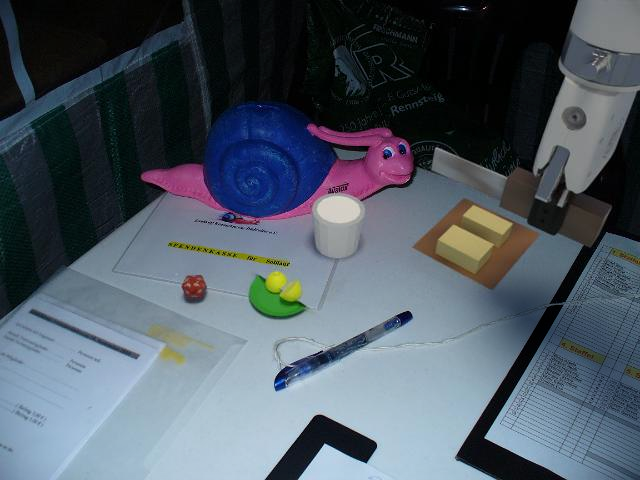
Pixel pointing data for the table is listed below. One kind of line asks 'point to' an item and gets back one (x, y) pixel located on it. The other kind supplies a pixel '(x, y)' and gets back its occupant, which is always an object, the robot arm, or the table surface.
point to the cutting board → (499, 257)
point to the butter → (464, 248)
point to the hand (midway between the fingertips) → (548, 219)
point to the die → (194, 286)
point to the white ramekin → (337, 224)
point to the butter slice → (486, 225)
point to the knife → (525, 195)
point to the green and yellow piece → (276, 295)
